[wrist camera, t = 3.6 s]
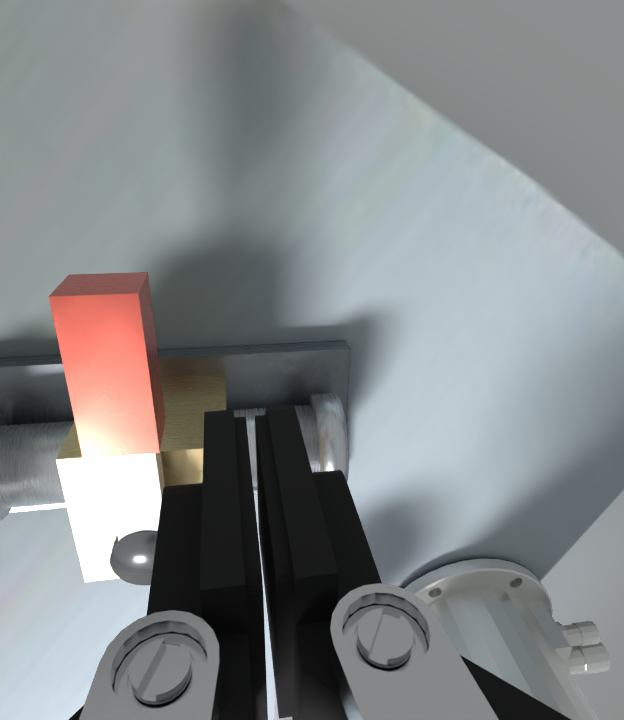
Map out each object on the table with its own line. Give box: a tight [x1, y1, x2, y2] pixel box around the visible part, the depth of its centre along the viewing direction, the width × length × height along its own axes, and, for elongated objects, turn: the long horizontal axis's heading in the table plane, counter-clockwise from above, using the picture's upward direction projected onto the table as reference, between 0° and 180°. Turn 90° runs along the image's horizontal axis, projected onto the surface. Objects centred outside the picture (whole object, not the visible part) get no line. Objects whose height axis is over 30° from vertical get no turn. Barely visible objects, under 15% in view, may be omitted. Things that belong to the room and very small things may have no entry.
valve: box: [0, 341, 350, 582], centre depth 23 cm, size 18×8×8 cm, turn 90°
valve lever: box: [49, 272, 166, 585], centre depth 17 cm, size 11×2×2 cm, turn 0°
